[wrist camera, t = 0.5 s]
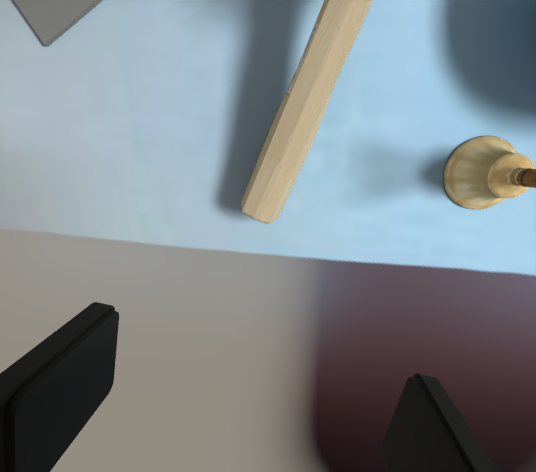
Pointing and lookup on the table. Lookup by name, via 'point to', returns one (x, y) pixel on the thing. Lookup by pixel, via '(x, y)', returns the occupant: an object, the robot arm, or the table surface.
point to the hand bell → (487, 173)
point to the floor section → (54, 15)
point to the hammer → (303, 108)
